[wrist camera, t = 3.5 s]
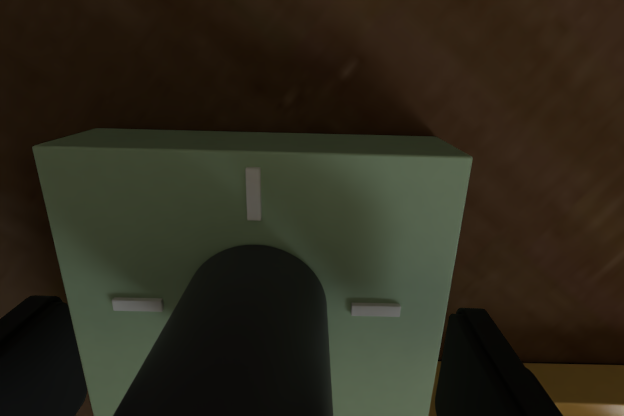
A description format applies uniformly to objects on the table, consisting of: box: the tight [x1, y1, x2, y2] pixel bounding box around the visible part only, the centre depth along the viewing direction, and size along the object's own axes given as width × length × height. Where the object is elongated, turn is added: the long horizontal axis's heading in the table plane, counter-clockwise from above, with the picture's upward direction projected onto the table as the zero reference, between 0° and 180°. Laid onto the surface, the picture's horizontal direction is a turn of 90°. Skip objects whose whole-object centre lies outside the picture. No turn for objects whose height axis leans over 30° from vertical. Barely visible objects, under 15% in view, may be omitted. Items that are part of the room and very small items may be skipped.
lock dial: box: [113, 245, 333, 416], centre depth 8 cm, size 4×4×6 cm
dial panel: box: [32, 128, 472, 416], centre depth 12 cm, size 11×9×3 cm
